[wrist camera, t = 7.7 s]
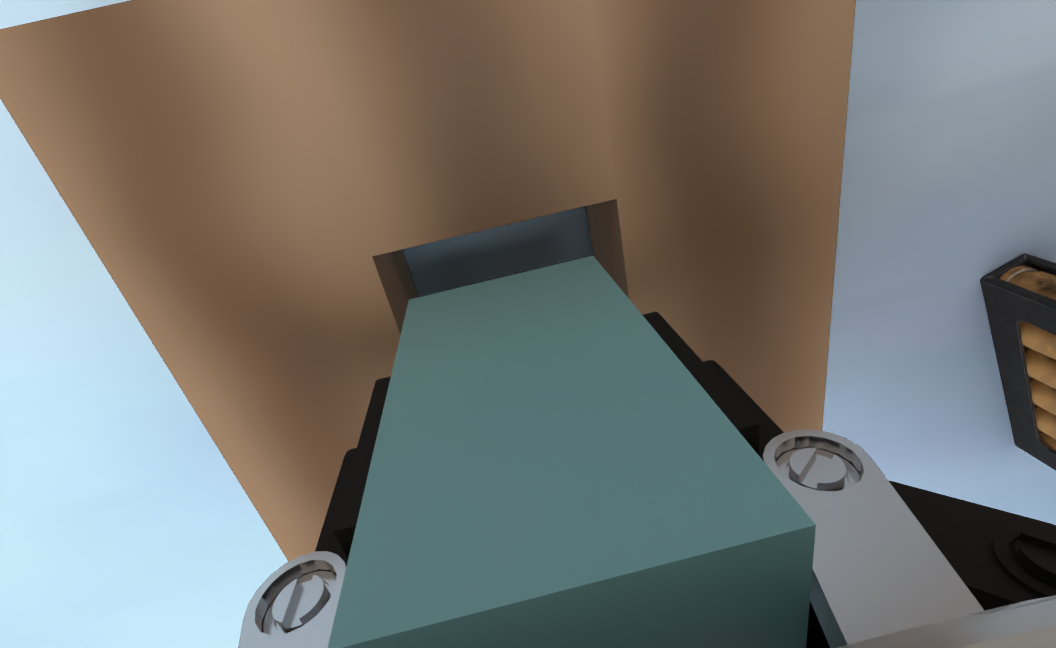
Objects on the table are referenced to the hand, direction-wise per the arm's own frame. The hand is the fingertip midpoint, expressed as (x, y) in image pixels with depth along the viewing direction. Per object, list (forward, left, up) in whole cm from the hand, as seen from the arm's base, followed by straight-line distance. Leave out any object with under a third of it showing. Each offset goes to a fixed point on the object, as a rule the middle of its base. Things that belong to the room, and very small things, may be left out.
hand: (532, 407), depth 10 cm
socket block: (0, 0, -7) cm, 7 cm away
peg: (0, 0, -2) cm, 2 cm away
